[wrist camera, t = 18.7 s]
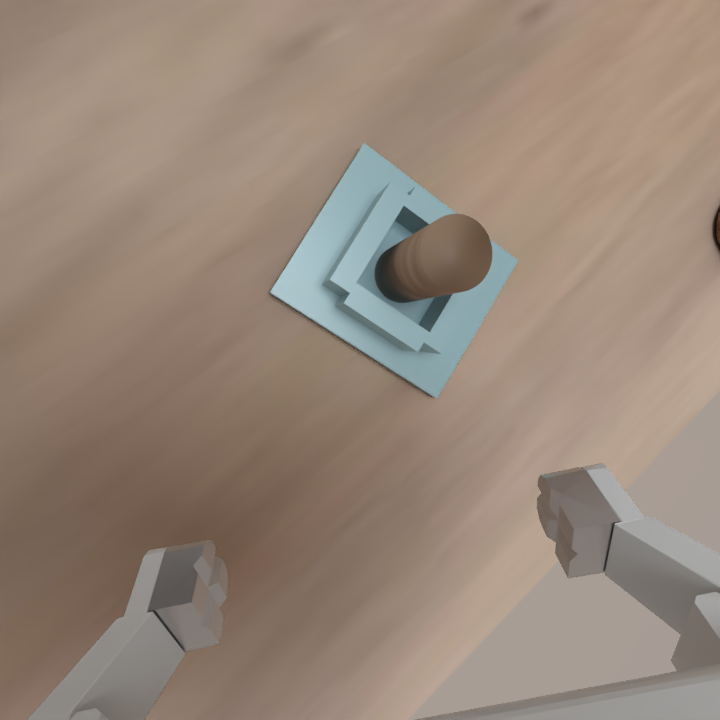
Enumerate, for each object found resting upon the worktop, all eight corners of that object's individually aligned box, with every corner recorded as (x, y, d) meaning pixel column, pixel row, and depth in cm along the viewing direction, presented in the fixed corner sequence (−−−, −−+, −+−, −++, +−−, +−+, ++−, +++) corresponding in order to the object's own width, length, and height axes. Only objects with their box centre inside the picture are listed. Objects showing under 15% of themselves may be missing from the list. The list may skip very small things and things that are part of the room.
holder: (269, 293, 32) (272, 288, 28) (360, 148, 33) (376, 123, 29) (431, 396, 35) (454, 404, 31) (510, 262, 36) (542, 254, 32)
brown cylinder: (363, 282, 32) (406, 263, 24) (393, 234, 33) (446, 197, 24) (410, 313, 33) (467, 307, 25) (438, 266, 34) (505, 243, 25)
